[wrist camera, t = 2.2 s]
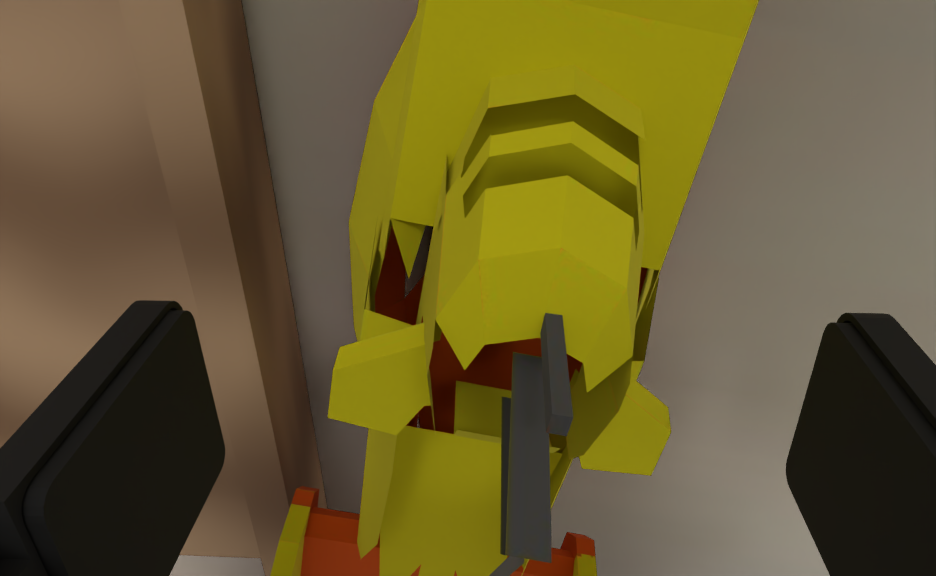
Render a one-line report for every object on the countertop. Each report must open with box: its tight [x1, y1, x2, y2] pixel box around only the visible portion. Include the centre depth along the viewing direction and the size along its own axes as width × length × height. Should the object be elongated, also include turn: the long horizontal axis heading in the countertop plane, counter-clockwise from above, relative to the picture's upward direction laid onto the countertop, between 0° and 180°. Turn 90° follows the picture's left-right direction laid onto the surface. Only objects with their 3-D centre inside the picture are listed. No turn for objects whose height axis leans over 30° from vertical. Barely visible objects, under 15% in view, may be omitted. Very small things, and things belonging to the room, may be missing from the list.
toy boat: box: [270, 0, 759, 576], centre depth 11 cm, size 6×18×10 cm, turn 169°
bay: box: [0, 0, 327, 576], centre depth 15 cm, size 30×20×2 cm
